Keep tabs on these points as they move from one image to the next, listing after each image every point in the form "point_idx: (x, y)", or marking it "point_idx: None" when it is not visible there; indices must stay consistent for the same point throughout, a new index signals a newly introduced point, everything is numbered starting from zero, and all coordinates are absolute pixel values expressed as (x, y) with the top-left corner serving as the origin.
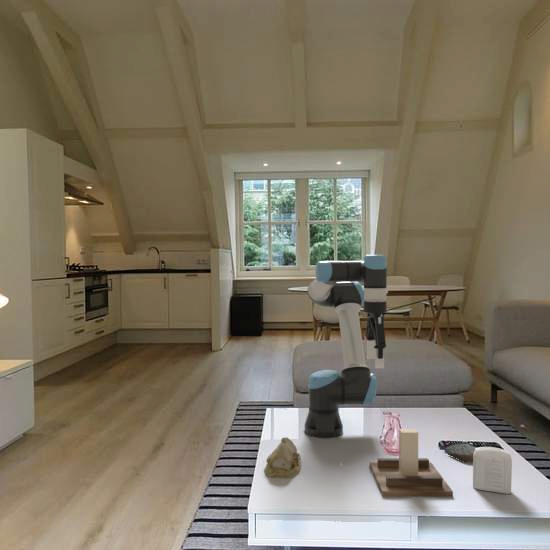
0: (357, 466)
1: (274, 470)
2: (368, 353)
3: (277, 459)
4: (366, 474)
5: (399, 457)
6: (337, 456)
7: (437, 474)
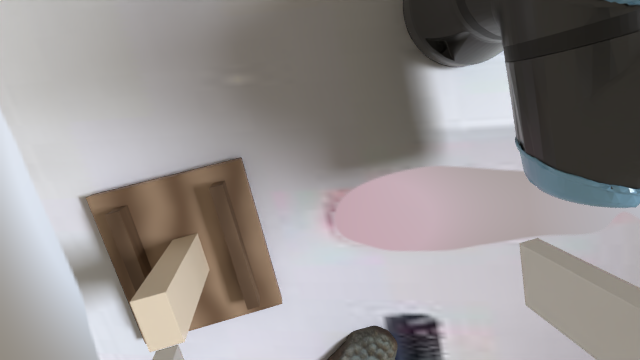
0: (236, 125)
1: None
2: (563, 278)
3: None
4: (196, 151)
5: (182, 252)
6: (284, 65)
7: (219, 316)
